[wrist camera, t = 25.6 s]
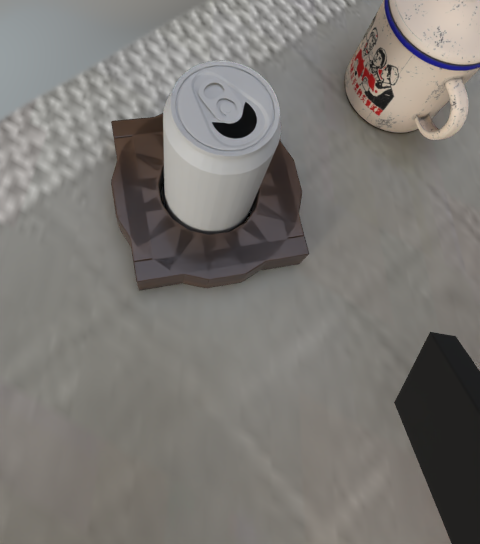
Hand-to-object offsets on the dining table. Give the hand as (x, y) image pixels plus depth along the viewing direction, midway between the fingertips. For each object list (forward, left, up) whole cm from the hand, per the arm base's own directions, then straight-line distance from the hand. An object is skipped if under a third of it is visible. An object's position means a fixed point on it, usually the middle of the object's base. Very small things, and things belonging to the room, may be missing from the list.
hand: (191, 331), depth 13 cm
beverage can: (+12, -4, -19) cm, 23 cm away
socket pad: (+12, -4, -19) cm, 23 cm away
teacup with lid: (+19, -22, -19) cm, 35 cm away
